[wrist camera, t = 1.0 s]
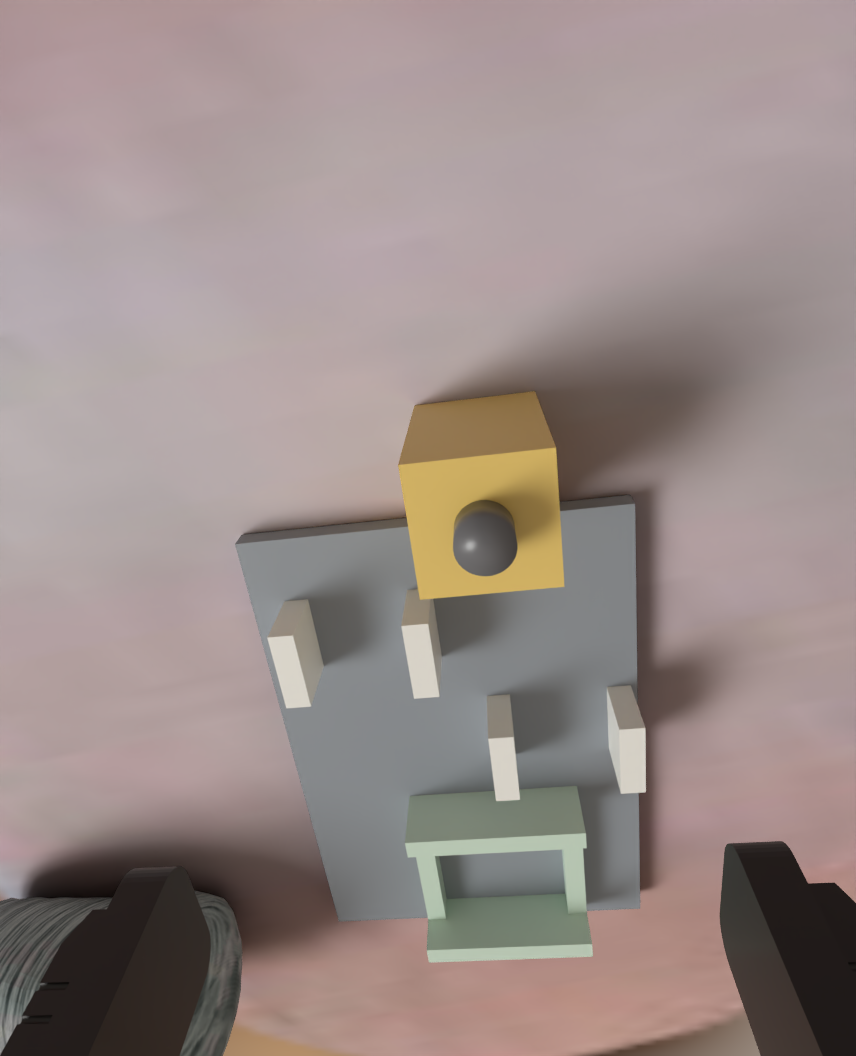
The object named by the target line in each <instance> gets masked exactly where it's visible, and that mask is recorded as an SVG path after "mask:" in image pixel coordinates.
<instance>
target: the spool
mask: <svg viewBox="0 0 856 1056" xmlns="http://www.w3.org/2000/svg"><path fill="white" fill-rule="evenodd" d="M194 892H195V894H196V897H197V899H198V902H199V905H200V907H201V910H202V912H203V915H204V918H205V920H206V923H207V925H208V928H209V932H210V939H211V954H210V962H209V968H208V972H207V976H206V979H205V982H204V985H203V988H202V991H201V994H200V997H199V1000H198V1003H197V1006H196V1009H195V1012H194V1015H193V1018H192V1021H191V1024H190V1026H189V1029H188V1032H187V1035H186V1038H185V1041H184V1044H183V1047H182V1050H181V1053H180V1056H223V1054H224V1051H225V1049H226V1046H227V1043H228V1040H229V1037H230V1034H231V1030H232V1027H233V1023H234V1020H235V1017H236V1013H237V1008H238V1003H239V997H240V991H241V973H242V941H241V937H240V933H239V929H238V925H237V922H236V918H235V915H234V912H233V910H232V909H231V907H230V906H229V904H228V903H227V902H226V900H225V899H224V898H221V897H218V896H215V895H212V894H208V893H204V892H199V891H194ZM111 900H112V898H102V897H101V898H69V897H61V898H42V897H31V898H26V899H16V898H10V899H6V900H3V901H0V1055H1V1053H2V1051H3V1049H4V1047H5V1045H6V1044H7V1042H8V1040H9V1038H10V1036H11V1034H12V1033H13V1031H14V1029H15V1027H16V1025H17V1024H20V1023H21V1021H22V1014H23V1013H24V1011H25V1009H26V1007H27V1005H28V1003H29V1002H30V1000H31V998H32V996H33V994H34V993H35V991H38V990H39V988H40V982H41V980H42V978H43V976H44V974H45V972H46V971H47V969H48V967H49V965H50V963H51V962H52V960H53V958H54V956H55V954H56V952H57V951H58V949H59V947H60V945H61V943H62V942H63V941H64V940H65V939H66V938H67V937H68V936H69V935H70V934H71V933H72V932H73V930H74V929H75V928H76V927H77V926H78V925H79V924H80V923H81V922H82V921H83V920H84V919H85V917H86V916H87V915H88V914H89V913H90V912H91V911H92V910H96V909H107V908H108V906H109V904H110V902H111Z"/></svg>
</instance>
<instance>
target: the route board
mask: <svg viewBox="0 0 856 1056" xmlns="http://www.w3.org/2000/svg"><path fill="white" fill-rule="evenodd" d="M559 504H560V521H561V537H562V554H563V570H564V587H557V588H546V589H535V590H524V591H513V592H501V593H490V594H479V595H468V596H457V597H446V598H435V599H433V601H434V608H435V614H436V621H437V628H438V634H439V641H440V648H441V654H442V663H441V680H440V697H431V698H418V699H414V696H413V690H412V685H411V679H410V673H409V668H408V662H407V656H406V650H405V645H404V639H403V633H402V628H401V624H402V618H403V612H404V605H405V599H406V593H407V590H414V589H418V585H417V579H416V573H415V567H414V560H413V554H412V548H411V542H410V535H409V529H408V523H407V518H400V519H390V520H380V521H371V522H361V523H351V524H342V525H332V526H322V527H312V528H303V529H293V530H283V531H274V532H264V533H254V534H244V535H241V537H240V538H239V540H238V541H237V542H236V544H235V545H236V549H237V553H238V556H239V560H240V564H241V567H242V571H243V575H244V578H245V582H246V585H247V589H248V593H249V596H250V600H251V604H252V607H253V611H254V615H255V618H256V622H257V625H258V629H259V633H260V636H261V640H262V644H263V647H264V651H265V654H266V658H267V662H268V665H269V669H270V673H271V676H272V680H273V684H274V687H275V691H276V694H277V698H278V702H279V705H280V709H281V713H282V716H283V720H284V724H285V727H286V731H287V734H288V738H289V742H290V745H291V749H292V753H293V756H294V760H295V763H296V767H297V771H298V774H299V778H300V782H301V785H302V789H303V793H304V796H305V800H306V803H307V807H308V811H309V814H310V818H311V822H312V825H313V829H314V833H315V836H316V840H317V843H318V847H319V851H320V854H321V858H322V862H323V865H324V869H325V873H326V876H327V880H328V883H329V887H330V891H331V894H332V898H333V902H334V905H335V909H336V912H337V916H338V920H339V921H361V920H384V919H408V918H428V916H427V910H426V905H425V900H424V895H423V890H422V885H421V880H420V875H419V870H418V865H417V860H416V857H410V858H408V856H407V851H406V846H405V837H406V826H407V816H408V806H409V796H419V795H435V794H451V793H468V792H484V791H495V789H494V781H493V773H492V765H491V757H490V749H489V741H488V721H487V696H495V695H508V694H510V702H511V711H512V721H513V730H514V740H515V749H516V760H517V771H518V782H519V789H533V788H549V787H565V786H577V789H578V795H579V800H580V805H581V810H582V816H583V821H584V826H585V831H586V844H587V848H583V857H584V874H585V891H586V908H587V911H594V910H617V909H640V855H639V793H626V794H621V792H620V788H619V785H618V781H617V777H616V773H615V769H614V766H613V762H612V758H611V754H610V751H609V740H608V711H607V687H614V686H627V685H631V688H632V690H633V693H634V696H635V699H636V702H637V705H638V695H637V615H636V535H635V503H634V501H633V499H632V497H631V496H630V495H623V496H614V497H604V498H594V499H584V500H575V501H565V502H559ZM305 599H308V602H309V606H310V610H311V614H312V619H313V623H314V627H315V631H316V636H317V640H318V644H319V648H320V653H321V657H322V661H323V665H324V667H323V670H322V673H321V677H320V680H319V683H318V686H317V689H316V692H315V695H314V699H313V702H312V705H311V707H299V708H286V705H285V702H284V698H283V694H282V691H281V687H280V683H279V679H278V676H277V672H276V668H275V665H274V661H273V657H272V654H271V650H270V646H269V642H268V639H267V637H268V635H269V633H270V631H271V629H272V626H273V624H274V622H275V620H276V618H277V616H278V614H279V612H280V609H281V607H282V605H283V603H284V601H294V600H305ZM439 858H440V864H441V870H442V875H443V881H444V887H445V892H446V898H447V899H458V898H480V897H502V896H524V895H546V894H565V882H564V869H563V856H562V850H544V851H525V852H506V853H487V854H467V855H448V856H439Z"/></svg>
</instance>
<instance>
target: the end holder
mask: <svg viewBox="0 0 856 1056" xmlns="http://www.w3.org/2000/svg"><path fill="white" fill-rule="evenodd" d="M519 793H520V800H509V801H496V797H495V791H484V792H468V793H451V794H435V795H419V796H409V806H408V816H407V826H406V837H405V846H406V851H407V856H408V858H410V857H416V860H417V865H418V870H419V875H420V880H421V885H422V890H423V895H424V900H425V905H426V910H427V916H428V936H427V954H428V959H429V962H456V961H484V960H511V959H539V958H566V957H593V952H592V941H591V935H590V929H589V923H588V917H587V908H586V891H585V874H584V857H583V848H587V844H586V831H585V826H584V821H583V816H582V810H581V805H580V800H579V795H578V789H577V786H565V787H549V788H533V789H519ZM544 850H562V856H563V869H564V882H565V894H546V895H524V896H502V897H480V898H458V899H447V898H446V892H445V887H444V881H443V875H442V870H441V864H440V858H439V856H448V855H467V854H487V853H506V852H525V851H544Z"/></svg>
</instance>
